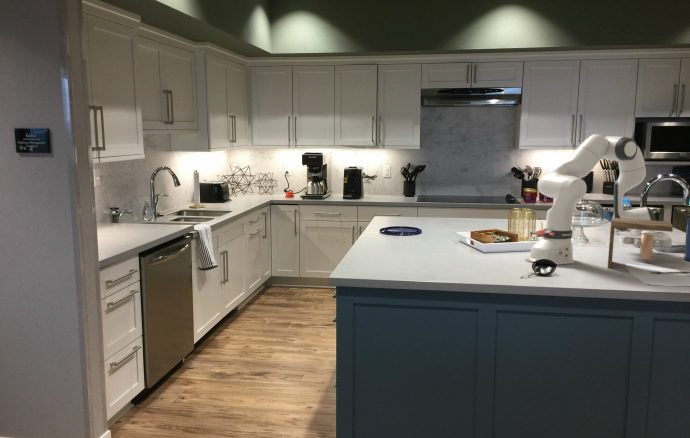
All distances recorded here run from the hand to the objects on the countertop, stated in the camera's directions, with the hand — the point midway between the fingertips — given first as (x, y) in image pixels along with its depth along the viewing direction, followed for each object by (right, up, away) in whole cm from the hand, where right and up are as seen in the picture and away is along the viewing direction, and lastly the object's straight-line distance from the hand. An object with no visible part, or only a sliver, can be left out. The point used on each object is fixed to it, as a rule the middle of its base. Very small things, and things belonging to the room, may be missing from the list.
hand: (647, 243), depth 256 cm
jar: (0, -6, +2) cm, 7 cm away
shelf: (-9, -10, -8) cm, 16 cm away
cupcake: (-31, -2, +45) cm, 54 cm away
